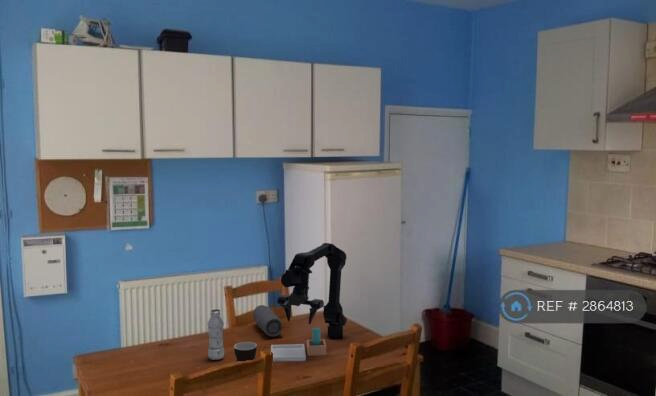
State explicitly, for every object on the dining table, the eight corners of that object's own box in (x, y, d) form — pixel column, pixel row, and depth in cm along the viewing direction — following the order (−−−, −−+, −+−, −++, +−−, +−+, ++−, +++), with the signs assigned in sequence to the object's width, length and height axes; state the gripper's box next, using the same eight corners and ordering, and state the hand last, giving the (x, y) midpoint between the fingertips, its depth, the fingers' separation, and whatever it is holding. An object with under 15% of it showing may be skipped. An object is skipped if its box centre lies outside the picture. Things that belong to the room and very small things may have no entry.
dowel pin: (320, 350, 229) (320, 327, 228) (320, 353, 226) (320, 330, 225) (312, 350, 229) (312, 327, 228) (312, 353, 226) (312, 330, 225)
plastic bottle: (227, 356, 222) (226, 309, 220) (218, 363, 215) (218, 313, 214) (213, 354, 224) (212, 307, 222) (204, 360, 218) (203, 312, 216)
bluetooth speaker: (251, 325, 262) (251, 304, 261) (270, 323, 266) (270, 303, 265) (263, 340, 241) (263, 318, 240) (283, 338, 244) (283, 316, 244)
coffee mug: (252, 376, 202) (252, 350, 202) (230, 374, 204) (230, 349, 203) (262, 364, 214) (262, 340, 213) (241, 363, 216) (241, 338, 215)
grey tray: (303, 348, 232) (303, 344, 232) (305, 360, 218) (305, 356, 218) (271, 349, 231) (270, 345, 230) (270, 361, 217) (270, 357, 217)
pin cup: (324, 348, 232) (324, 339, 231) (326, 355, 224) (326, 345, 224) (306, 349, 231) (306, 339, 231) (307, 355, 223) (307, 346, 223)
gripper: (272, 284, 218) (270, 323, 218) (316, 290, 212) (313, 330, 212) (283, 281, 228) (281, 318, 229) (325, 286, 223) (323, 324, 223)
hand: (299, 322), depth 223 cm, fingers open, 9 cm apart
